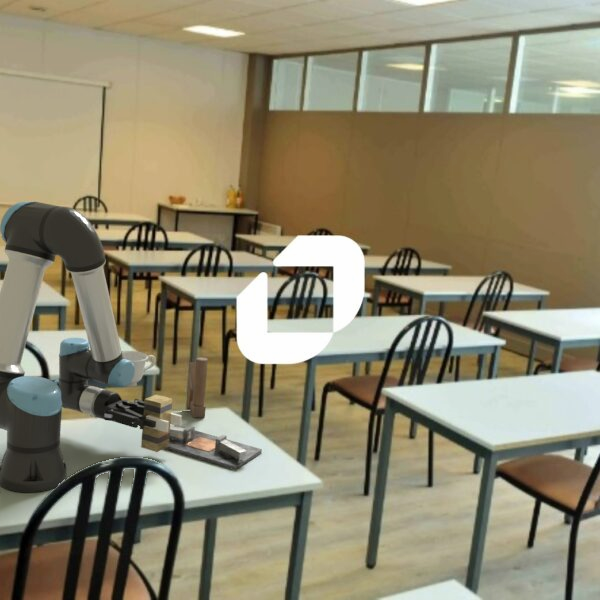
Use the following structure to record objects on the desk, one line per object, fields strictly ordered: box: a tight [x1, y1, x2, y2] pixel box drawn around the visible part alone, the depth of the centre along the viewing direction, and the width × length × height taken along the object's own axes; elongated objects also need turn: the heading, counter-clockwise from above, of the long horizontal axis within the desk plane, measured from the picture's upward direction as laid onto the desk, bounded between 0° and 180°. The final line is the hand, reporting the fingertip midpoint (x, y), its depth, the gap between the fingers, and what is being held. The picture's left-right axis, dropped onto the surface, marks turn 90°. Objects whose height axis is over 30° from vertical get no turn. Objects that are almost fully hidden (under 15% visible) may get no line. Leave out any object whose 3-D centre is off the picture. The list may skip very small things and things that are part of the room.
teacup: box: [121, 350, 157, 388], centre depth 247 cm, size 12×15×10 cm
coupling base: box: [164, 425, 262, 471], centre depth 202 cm, size 29×14×4 cm, turn 65°
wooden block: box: [186, 356, 209, 418], centre depth 227 cm, size 4×11×18 cm, turn 20°
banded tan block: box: [140, 394, 173, 453], centre depth 191 cm, size 5×5×13 cm
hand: (174, 423), depth 189 cm, fingers closed on banded tan block, 5 cm apart
